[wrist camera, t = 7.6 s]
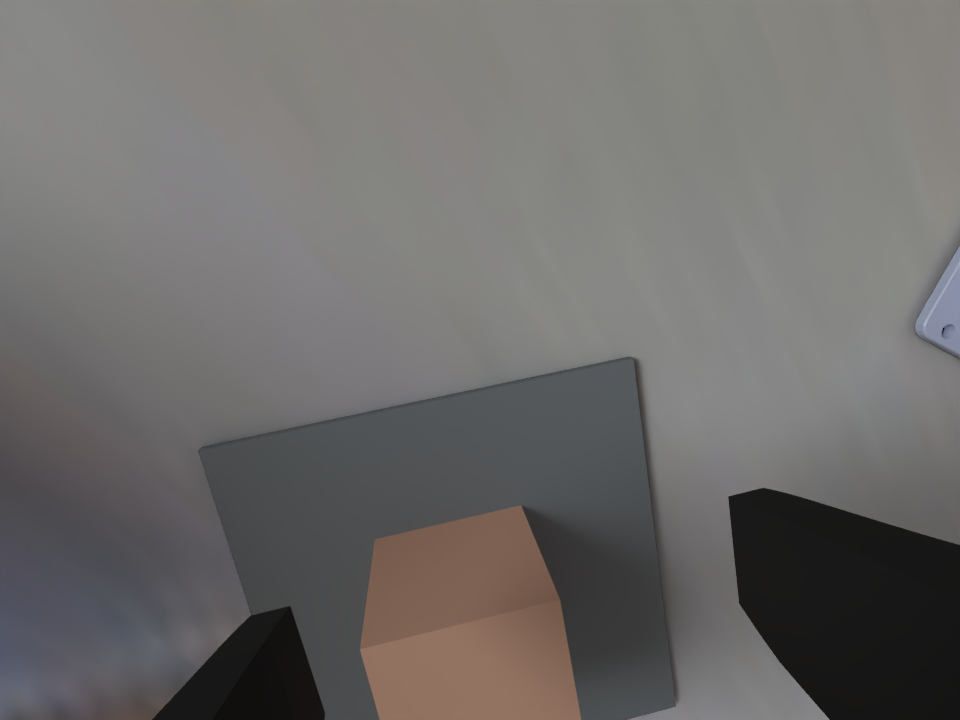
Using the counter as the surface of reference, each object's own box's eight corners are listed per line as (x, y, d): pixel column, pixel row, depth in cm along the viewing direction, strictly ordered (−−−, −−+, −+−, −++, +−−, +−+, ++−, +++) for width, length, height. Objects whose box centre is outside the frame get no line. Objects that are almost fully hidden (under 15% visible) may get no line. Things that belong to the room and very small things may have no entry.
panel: (629, 356, 18) (633, 358, 18) (672, 700, 21) (675, 706, 21) (201, 447, 17) (198, 450, 17) (314, 794, 20) (312, 802, 20)
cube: (521, 505, 18) (560, 599, 13) (544, 629, 19) (588, 758, 14) (374, 539, 18) (359, 649, 13) (407, 664, 19) (405, 808, 14)
